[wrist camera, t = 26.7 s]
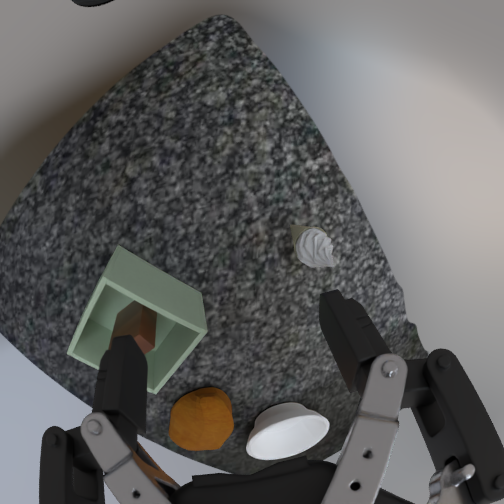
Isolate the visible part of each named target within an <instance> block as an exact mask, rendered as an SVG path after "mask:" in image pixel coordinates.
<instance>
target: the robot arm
mask: <svg viewBox="0 0 504 504" xmlns="http://www.w3.org/2000/svg"><path fill="white" fill-rule="evenodd" d="M319 321H320V326H321V330H322V332H323V334H324V337H325V339H326V341H327V343H328V345H329V347H330V350H331V352H332V354H333V356H334V358H335V361H336V363H337V365H338V367H339V370H340V372H341V374H342V376H343V378H344V381H345V383H346V385H347V387H348V390H349V392H350V393H352V392H355V391H358V392H359V395H360V397H361V398H360V401H359V404H358V407H357V410H356V413H355V416H354V419H353V422H352V425H351V427H350V430H349V433H348V436H347V438H346V441H345V443H344V446H343V448H342V450H341V453H340V455H339V458H338V460H337V463H336V464H334V463H331V462H327V461H321V460H307V457H306V456H302V457H299V458H295V459H291V460H287V461H283V462H278V463H276V464H274V465H272V466H270V467H267V468H265V469H263V470H261V471H258V472H256V473H254V474H251V475H237V474H225V473H215V474H205V475H194V476H192V480H193V481H192V482H189V483H187V484H185V485H183V486H180V485H179V484H177V483H176V482H175V481H174V480H173V479H172V478H171V477H169V476H168V475H167V474H166V473H165V472H164V471H163V470H162V469H161V468H160V467H159V466H158V465H157V464H156V462H154V460H153V459H152V458H151V457H150V455H149V454H148V453H147V452H146V451H145V449H144V448H143V447H142V446H141V445H140V443H139V442H138V441H137V434H146V403H147V377H148V364H147V360H146V357H145V355H144V353H143V352H142V350H141V349H140V347H139V346H138V344H137V343H136V341H135V340H134V338H133V337H132V335H130V334H129V335H122V336H116V337H114V338H113V340H112V344H111V350H106V351H105V353H104V355H103V356H102V358H101V360H100V365H99V370H98V371H99V372H98V376H97V382H96V388H95V395H94V402H93V409H92V413H91V414H89V415H87V416H86V417H85V418H84V420H83V421H82V424H81V426H79V427H76V428H73V429H70V430H67V431H64V430H63V429H61V428H60V427H57V426H52V427H50V428H48V429H47V430H46V431H45V433H44V435H43V437H42V446H41V458H40V479H39V504H105V496H104V481H105V483H106V485H107V486H108V488H109V489H110V490H111V492H112V493H113V495H114V496H115V497H116V499H117V500H118V501H119V503H120V504H414V503H412V502H410V501H407V500H405V499H403V498H400V497H398V496H396V495H394V494H392V493H390V492H388V491H386V490H384V489H382V488H380V486H381V483H382V481H383V478H384V475H385V472H386V469H387V466H388V463H389V460H390V457H391V453H392V450H393V446H394V443H395V439H396V436H397V432H398V428H399V421H398V415H399V411H400V409H402V408H411V410H412V412H413V414H414V417H415V419H416V421H417V423H418V426H419V428H420V431H421V433H422V436H423V438H424V440H425V443H426V445H427V448H428V450H429V453H430V455H431V458H432V461H433V463H434V466H435V469H436V472H435V473H434V474H433V476H432V477H431V479H430V483H429V490H430V497H429V501H428V503H427V504H490V503H493V502H495V501H498V500H501V499H503V498H504V448H503V445H502V443H501V440H500V438H499V436H498V434H497V432H496V430H495V427H494V425H493V423H492V421H491V419H490V417H489V415H488V413H487V412H486V409H485V407H484V405H483V403H482V401H481V400H480V398H479V396H478V394H477V392H476V390H475V389H474V387H473V385H472V383H471V381H470V380H469V378H468V376H467V374H466V373H465V371H464V369H463V367H462V366H461V364H460V362H459V361H458V359H457V357H456V356H455V355H454V354H453V353H452V352H451V351H449V350H446V349H436V350H434V351H432V352H431V353H430V354H429V356H428V358H424V359H415V360H404V359H402V358H401V357H399V356H398V355H395V354H393V353H392V352H391V351H390V350H389V348H388V347H387V345H386V343H385V342H384V340H383V338H382V337H381V335H380V333H379V332H378V330H377V329H376V327H375V325H374V324H373V323H372V320H371V319H370V317H369V316H368V314H367V313H366V311H365V309H364V308H363V306H362V305H361V304H360V303H358V302H357V301H355V300H354V299H353V298H350V299H347V300H345V299H344V298H343V296H342V294H341V293H340V291H339V290H338V289H336V290H333V291H329V292H325V293H322V294H320V304H319ZM103 471H104V473H105V475H103Z"/></svg>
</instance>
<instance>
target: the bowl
mask: <svg viewBox="0 0 504 504" xmlns="http://www.w3.org/2000/svg"><path fill="white" fill-rule="evenodd" d="M328 429H329V422H328V420H327V419H326V418H325V417H323V416H322V415H320V414H319V413H317V412H315V411H313V410H308V409H306V408H305V407H304V406H303V405H302V404H299V403H292V402H290V403H283V404H279V405H275V406H273V407H271V408H269V409H267V410H265V411H264V412H262V413H261V414H260V415H259V416H258V417H257V418H256V420H255V425H254V429H253V430H252V431H251V433H250V435H249V438H248V442H247V446H246V450H247V452H248V454H249V455H250V456H252V457H254V458H257V459H263V460H274V459H281V458H285V457H289V456H292V455H295V454H298V453H300V452H303V451H305V450H307V449H309V448H310V447H312V446H313V445H315V444H316V443H318V442H319V441H320V440H321V439H322V438H323V437H324V436H325V435H326V433H327V432H328Z"/></svg>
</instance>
